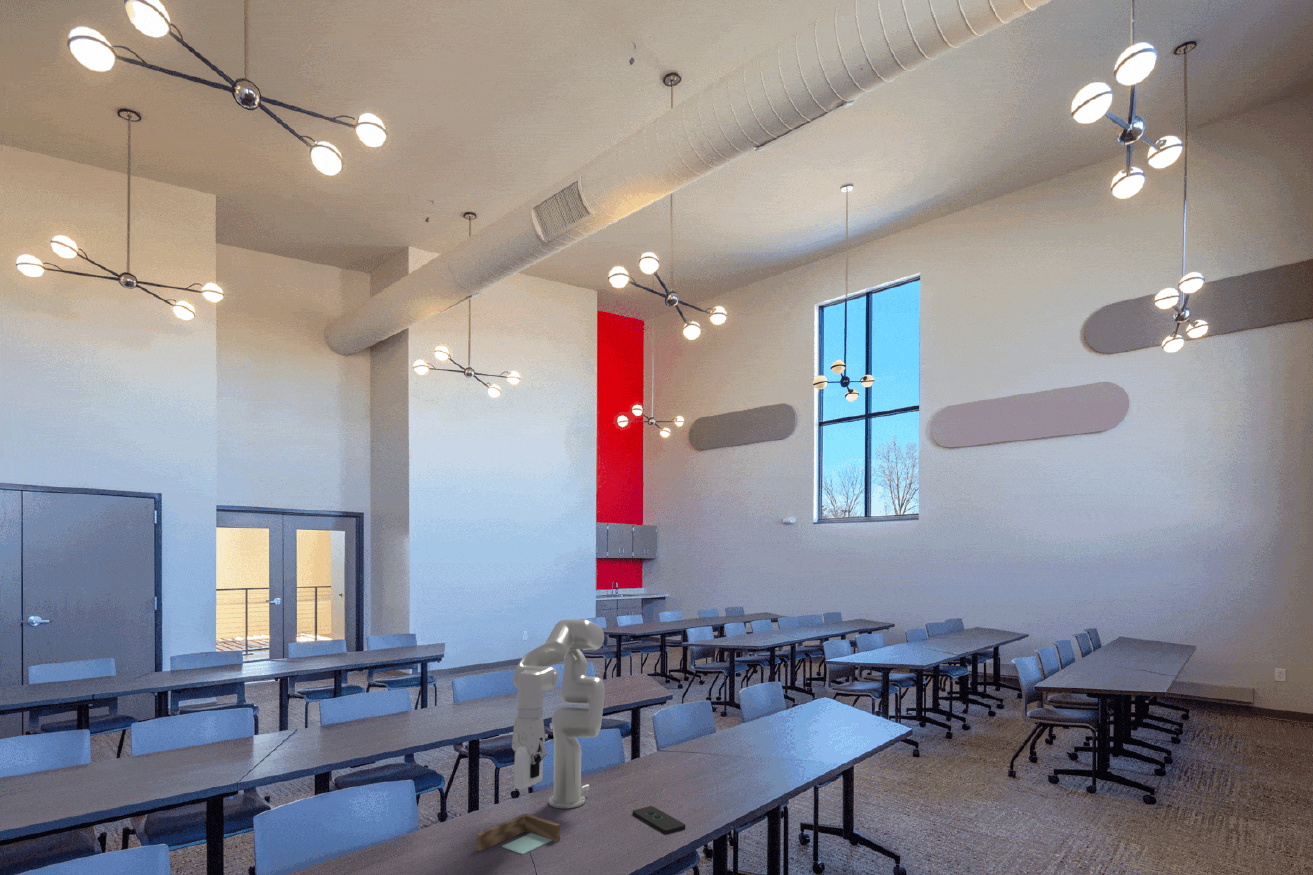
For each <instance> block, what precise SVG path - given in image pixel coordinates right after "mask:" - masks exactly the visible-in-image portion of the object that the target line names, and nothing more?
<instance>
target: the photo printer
mask: <svg viewBox="0 0 1313 875" xmlns="http://www.w3.org/2000/svg"><path fill="white" fill-rule="evenodd" d="M536 757H537V755H535V758H536ZM543 763H544V758H543V759H542V760H541V762H540V763H539V776H537V777H535V778H531V777H530V768H531V764H532V759H531V755H530V754H528V751H527V748H526V747H525V746H523V745H521V746H520V747H519V748H518V749H517V750H516V752H514V767H513V768H514V770H513V786H514V789H516V790H524V789H527V788H529V787H532V786H535V785H536V784H538V783H541V782H543V770H544V767H543V765H544V764H543Z"/></svg>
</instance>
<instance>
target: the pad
mask: <svg viewBox="0 0 1313 875" xmlns="http://www.w3.org/2000/svg"><path fill="white" fill-rule="evenodd" d="M550 842H553V840H551V839H548V838H545V837H542V836H540V835H537V834H534V833H527V834H526V835H524V836H521V837H519V838H517V839H514V840H513V841H510V842H508V843H505V844H503V845H502V846H501V848H503V849H505V850H509V851H512V852H514V853H516V854H519V855H523V856H524V855H526V854H527V853H530V852H532V851H533V850H536V849H538V848H540V847H542V846H544V845H547V844H549V843H550Z"/></svg>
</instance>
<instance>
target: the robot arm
mask: <svg viewBox="0 0 1313 875" xmlns="http://www.w3.org/2000/svg"><path fill="white" fill-rule="evenodd" d="M604 632H605V631H604V630H603V627H601V626H600V625H599V624H597V623H595V622H592V621H591V620H587V619H562V620H559V621H558V622H557V623H556V624H555V625H554V627H553V628H552V630H551V632H550V633H549V636H548V637H547V639H546V640H545V642H544V644H541V645H539V646H537V647H536V648H534V649H532V650H530V651H529V652H527V653H526V654H524V655H523V656H522V658H521V659H520V661H519V662H518V664H517V665H516V667H515V670H514V673H513V677H512V683H513V686H514V687H515V688H516V689H517V707H516V711H517V716H516V717H515V718H514V723H513V732H512V741H511V742H512V743H511V748H512V750H513V752H514V753H515V752H516V750H517V749H518V748H519V747H520V746H521V745H523V746H525V747H526V748H527V751H528V754H530V755H531V759H532V764H531V768H530V777H531V778H535V777H537V776H539V763H540V762H541V760H542V759H543V760H544V758H545V757H546V756H547V755H548V752H547V750H546V747H545V745H546V744H545V742H546V738H545V736H546V734H545V732H546V731H545V724H544V717H543V693H545V692H550V691H552V690H554V689H555V688H556V687H557V685H558V684H559V677H560V676H559V673H558V670H556V668H554V667H552V666H553V665H556V664H558V663H561V662H563V661H564V663H563V664H564V667H563V672H562V678H561V686H560V699H561V700H562V702H564V703H565V704H572V705H586V706H587V705H588V707H577V706H576V707H574V706H573V707H572V706H563V707H559V708H557V709H555V711H554V712H553V714H552V715H551V728H552V733H553V734H552V735H553V795H552V796H550V797H549V798H548V804H549V806H551V807H552V808H556V809H573V808H578V807H580V806H583V805H584V804H585V802H586V796H584V795H583V794H584V792H586V791H589V790H590V784H587V783H586V784H583V785H582V746H581V743H580V742H579V740H578V739H577V738H596V737H597V736H598V735H599V734H600V731H601V729H602V721H603V713H604V705H605V697H606V696H605V694H606V692H605V691H606V689H605V683H604V681H603V680H602V678H600V677H599V676H598V677H597V676H587V675H588V666H589V665H588V661H587V660H588V659H587V658H586V657H585V655H584V653H583V652H582V651H581V650H589V651H590V650H594V651H596V650H599V649H601V648H602V646H603V645H604V641H605V633H604ZM535 755H537V757H536V758H535Z"/></svg>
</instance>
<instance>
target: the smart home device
mask: <svg viewBox="0 0 1313 875" xmlns="http://www.w3.org/2000/svg"><path fill="white" fill-rule="evenodd" d="M632 815H633V816H634V817H635V818H637V819H639V820H641V821H642V822H643V823H646V824H647V825H649V826H651V827H652V828H654V829H655V830H657V831H658V832H660V833H662V834H664V835H669V834H673V833H675V832H680V831H683V830H686V824H685V823H684V822H682V821H680V820H678V819H677V818H675V817H673V816H671V815H670V814H668V813H666V812H664V811H662V810H660V809H658V808H656V807H655V806H652V805H650V806H645V807H641V808H637V809H634V810H632Z"/></svg>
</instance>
